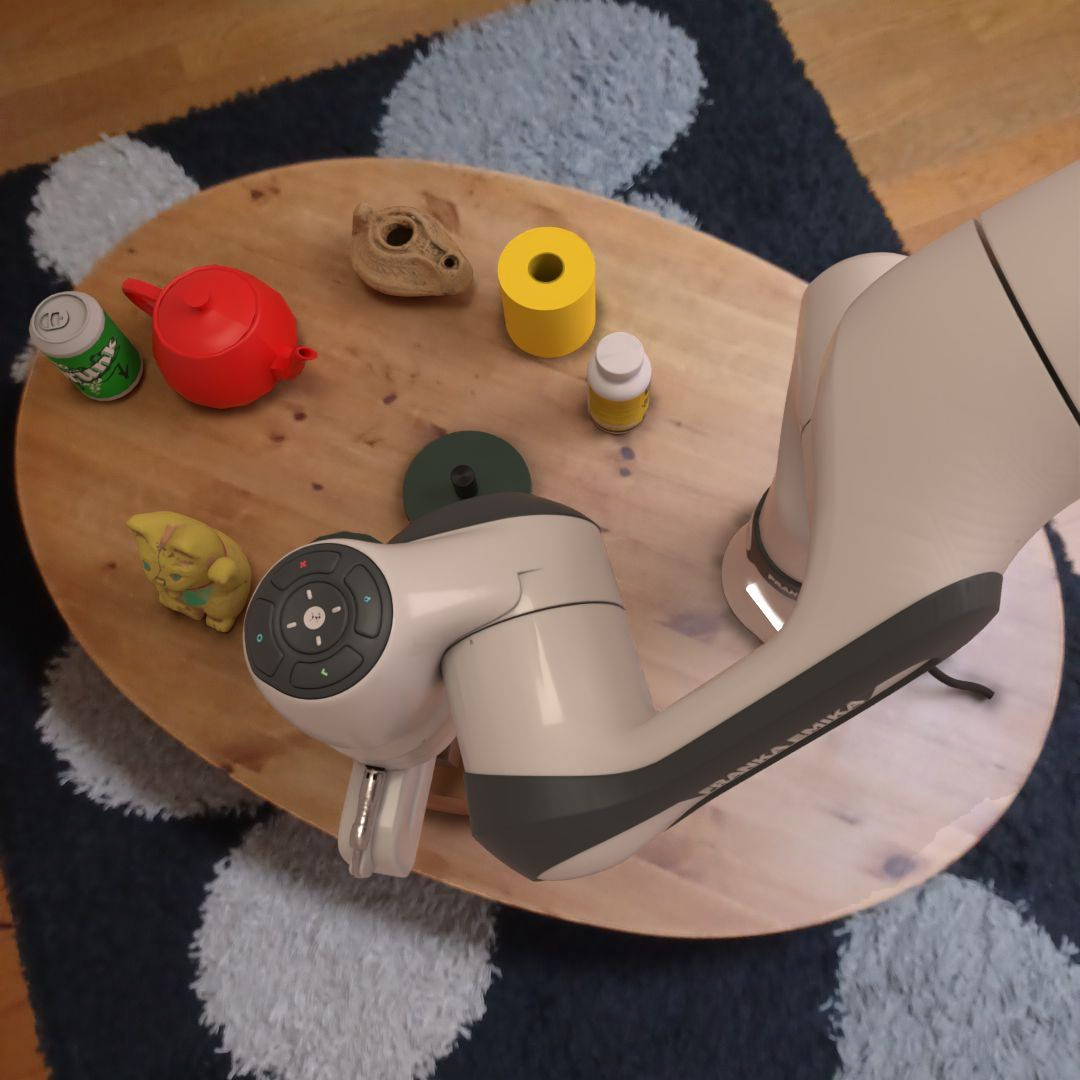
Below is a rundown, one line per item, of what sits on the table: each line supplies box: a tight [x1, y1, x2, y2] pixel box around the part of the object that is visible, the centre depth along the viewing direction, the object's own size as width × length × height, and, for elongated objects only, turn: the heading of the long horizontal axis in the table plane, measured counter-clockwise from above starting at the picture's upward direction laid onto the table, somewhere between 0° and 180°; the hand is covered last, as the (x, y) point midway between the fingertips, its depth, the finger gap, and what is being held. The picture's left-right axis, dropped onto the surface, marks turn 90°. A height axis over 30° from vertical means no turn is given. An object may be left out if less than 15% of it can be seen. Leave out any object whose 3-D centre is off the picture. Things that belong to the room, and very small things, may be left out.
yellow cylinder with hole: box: [497, 226, 597, 359], centre depth 107 cm, size 10×10×9 cm
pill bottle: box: [586, 331, 653, 435], centre depth 102 cm, size 6×6×12 cm
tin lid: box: [402, 430, 533, 523], centre depth 103 cm, size 13×13×5 cm
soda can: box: [28, 290, 144, 402], centre depth 107 cm, size 8×8×12 cm
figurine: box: [124, 510, 252, 633], centre depth 96 cm, size 11×9×15 cm
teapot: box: [121, 263, 319, 410], centre depth 106 cm, size 25×16×12 cm, turn 64°
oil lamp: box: [349, 201, 474, 297], centre depth 111 cm, size 11×15×8 cm
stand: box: [426, 756, 469, 817], centre depth 86 cm, size 8×8×20 cm
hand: (430, 728), depth 71 cm, fingers closed on block, 4 cm apart
